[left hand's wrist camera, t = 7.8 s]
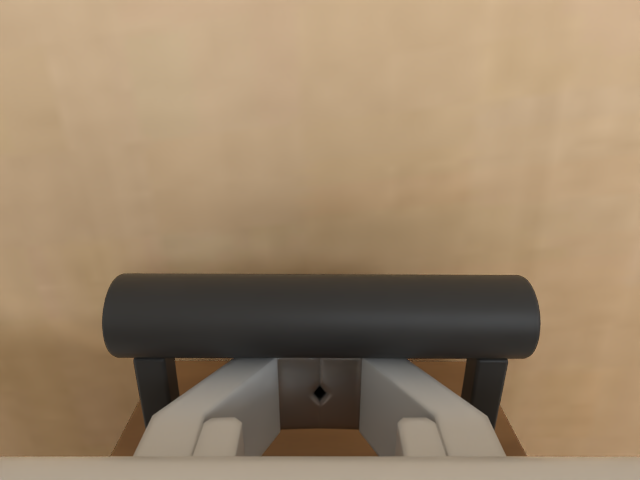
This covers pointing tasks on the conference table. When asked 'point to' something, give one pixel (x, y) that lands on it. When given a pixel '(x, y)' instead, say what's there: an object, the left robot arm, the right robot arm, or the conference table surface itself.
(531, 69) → the conference table surface
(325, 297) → the drawer
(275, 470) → the left robot arm
